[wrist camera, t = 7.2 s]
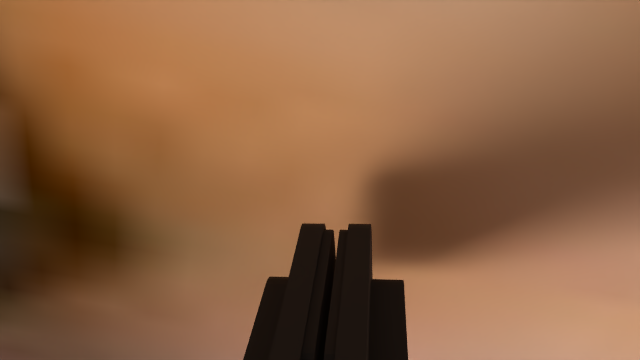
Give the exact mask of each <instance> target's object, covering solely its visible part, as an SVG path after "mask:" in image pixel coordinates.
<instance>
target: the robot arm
mask: <svg viewBox="0 0 640 360" xmlns="http://www.w3.org/2000/svg"><path fill="white" fill-rule="evenodd" d="M243 360H408V350H407V332H406V314H405V295H404V281H403V280H380V279H372V232H371V224H349V225H348V230H340V232H339V240H338V248H337V256H336V255H335V241H334V231H333V230H326V227H325V224H302V226H301V229H300V233H299V237H298V241H297V245H296V250H295V254H294V258H293V262H292V266H291V270H290V274H289V277H269V278H268V280H267V283H266V285H265V289H264V292H263V295H262V299H261V302H260V306H259V309H258V312H257V316H256V319H255V322H254V326H253V329H252V332H251V336H250V339H249V342H248V346H247V349H246V352H245V356H244V359H243Z"/></svg>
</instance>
